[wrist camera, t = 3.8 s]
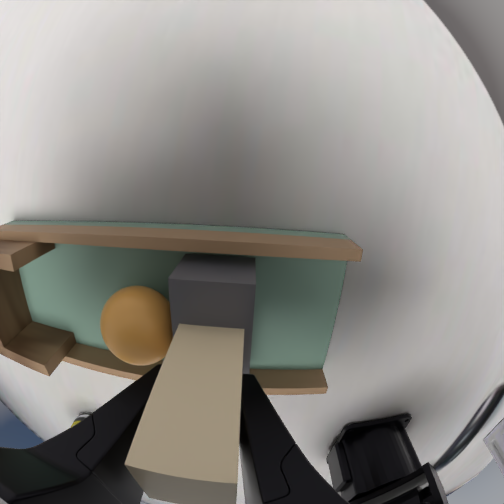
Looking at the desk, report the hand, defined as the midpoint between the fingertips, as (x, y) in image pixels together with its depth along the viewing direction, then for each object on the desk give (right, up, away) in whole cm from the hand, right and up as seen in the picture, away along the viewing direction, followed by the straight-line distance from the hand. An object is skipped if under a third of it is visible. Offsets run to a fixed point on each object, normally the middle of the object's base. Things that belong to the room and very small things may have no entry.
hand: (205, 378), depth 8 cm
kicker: (0, +1, +4) cm, 4 cm away
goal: (-12, +2, +5) cm, 13 cm away
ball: (-2, +1, +4) cm, 5 cm away
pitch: (-4, +2, +5) cm, 7 cm away
